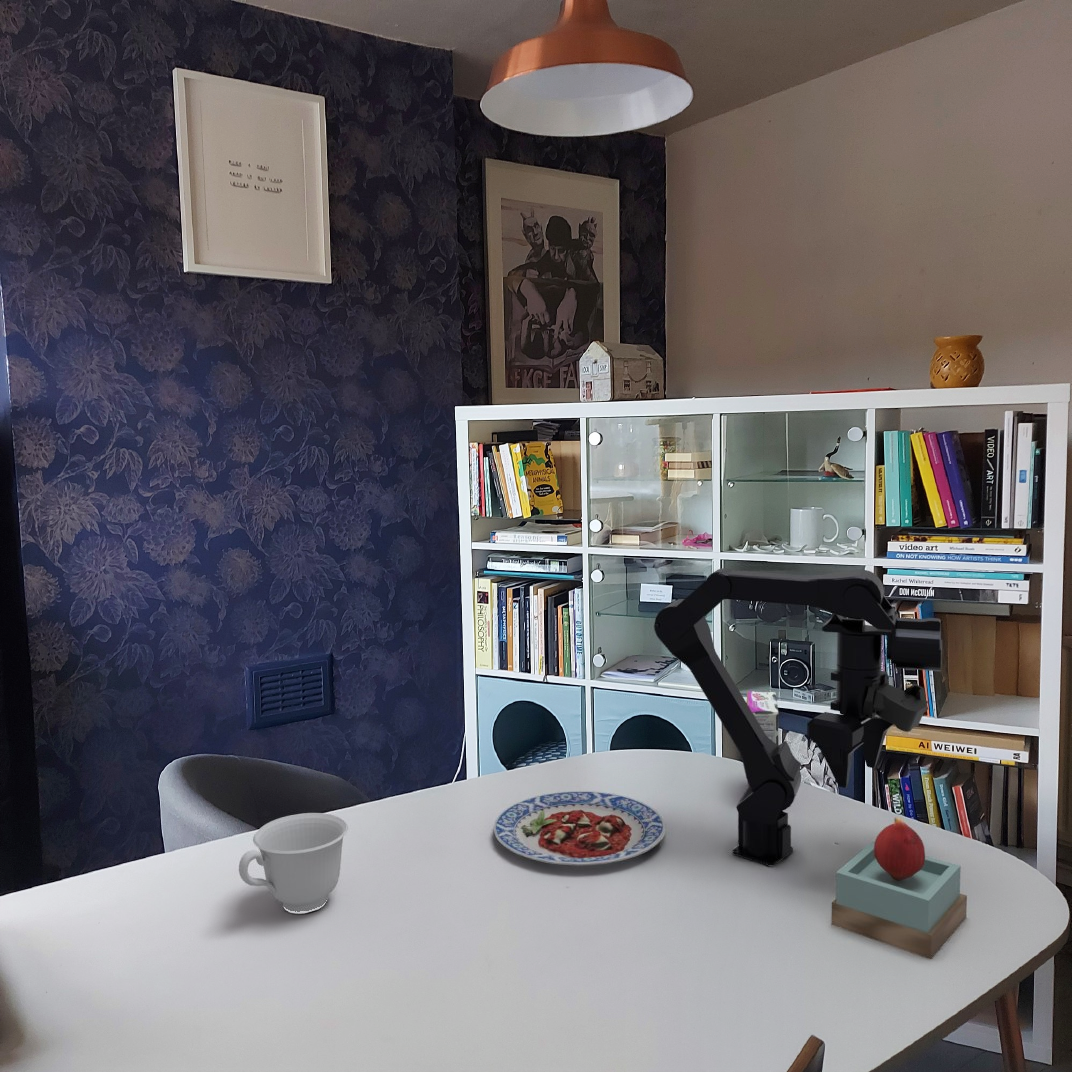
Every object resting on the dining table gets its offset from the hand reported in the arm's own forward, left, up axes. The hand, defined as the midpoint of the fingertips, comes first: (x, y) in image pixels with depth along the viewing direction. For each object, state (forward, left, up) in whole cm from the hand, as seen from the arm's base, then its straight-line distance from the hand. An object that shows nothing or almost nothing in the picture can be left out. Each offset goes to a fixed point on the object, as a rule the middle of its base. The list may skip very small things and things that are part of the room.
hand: (857, 776), depth 130 cm
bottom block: (+10, -10, -14) cm, 20 cm away
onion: (+10, -10, -8) cm, 16 cm away
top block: (+10, -10, -10) cm, 18 cm away
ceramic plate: (-36, -16, -14) cm, 42 cm away
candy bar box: (-22, +14, -13) cm, 29 cm away
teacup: (-51, -56, -13) cm, 77 cm away
